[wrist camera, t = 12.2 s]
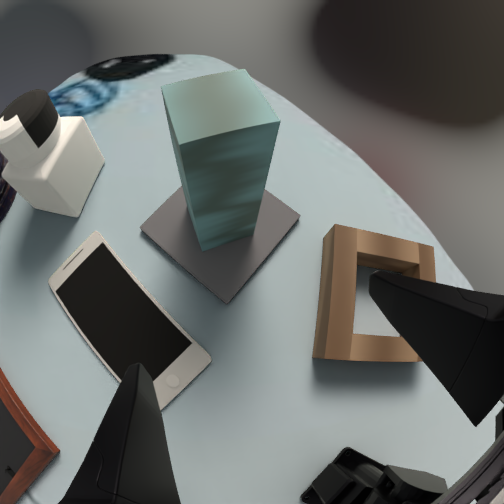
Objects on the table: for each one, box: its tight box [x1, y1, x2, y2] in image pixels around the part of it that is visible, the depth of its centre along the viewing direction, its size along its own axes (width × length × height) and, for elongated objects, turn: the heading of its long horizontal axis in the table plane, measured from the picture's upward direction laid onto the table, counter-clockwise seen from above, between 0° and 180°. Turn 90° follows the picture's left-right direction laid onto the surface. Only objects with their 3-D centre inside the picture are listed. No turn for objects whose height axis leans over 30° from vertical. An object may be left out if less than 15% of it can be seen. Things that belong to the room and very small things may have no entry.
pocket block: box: [312, 224, 436, 362], centre depth 22 cm, size 10×10×3 cm
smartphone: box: [48, 231, 212, 411], centre depth 21 cm, size 7×16×1 cm, turn 47°
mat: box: [140, 186, 300, 304], centre depth 24 cm, size 10×10×1 cm
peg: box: [161, 69, 280, 252], centre depth 18 cm, size 4×4×13 cm
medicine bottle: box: [0, 89, 105, 217], centre depth 19 cm, size 7×7×12 cm
